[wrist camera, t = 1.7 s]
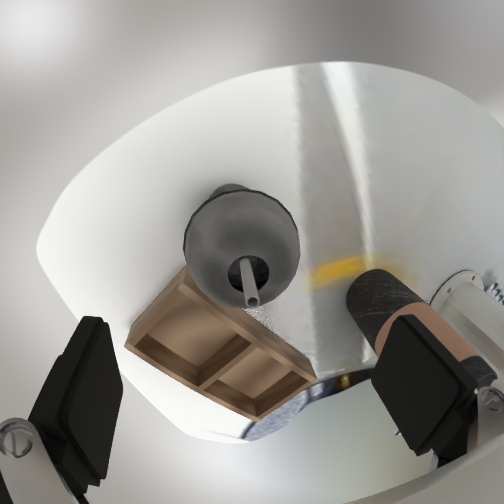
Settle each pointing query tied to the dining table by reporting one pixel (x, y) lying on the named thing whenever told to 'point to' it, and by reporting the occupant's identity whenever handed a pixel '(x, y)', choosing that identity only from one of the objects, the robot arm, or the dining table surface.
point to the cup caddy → (218, 351)
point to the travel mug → (402, 303)
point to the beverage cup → (241, 247)
